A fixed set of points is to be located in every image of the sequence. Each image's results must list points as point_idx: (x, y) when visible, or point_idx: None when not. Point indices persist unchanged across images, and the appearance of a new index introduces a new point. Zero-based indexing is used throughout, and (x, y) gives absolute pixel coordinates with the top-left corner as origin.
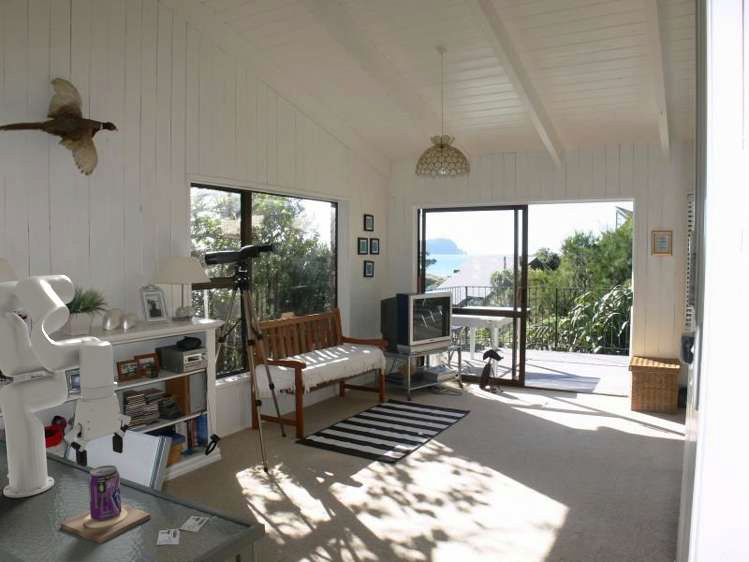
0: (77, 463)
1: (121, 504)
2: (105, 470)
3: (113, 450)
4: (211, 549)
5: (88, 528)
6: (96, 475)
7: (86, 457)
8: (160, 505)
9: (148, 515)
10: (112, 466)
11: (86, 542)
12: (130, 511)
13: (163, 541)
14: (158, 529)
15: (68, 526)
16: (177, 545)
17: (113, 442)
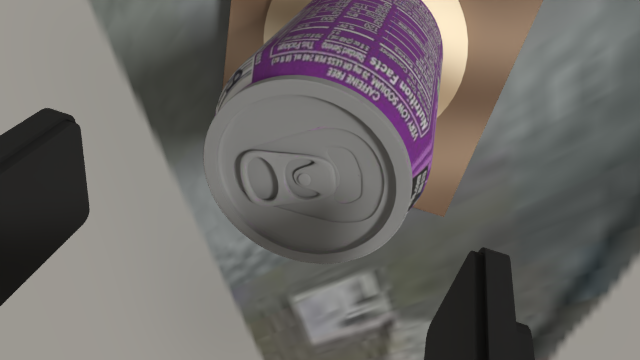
0: (47, 112)
1: (529, 20)
2: (311, 190)
3: (467, 261)
4: None
5: (259, 39)
6: (211, 185)
7: (23, 276)
8: (580, 183)
9: (434, 212)
10: (394, 201)
11: (212, 78)
12: (452, 122)
13: (309, 307)
14: (371, 266)
15: None
16: (302, 344)
17: (462, 352)
